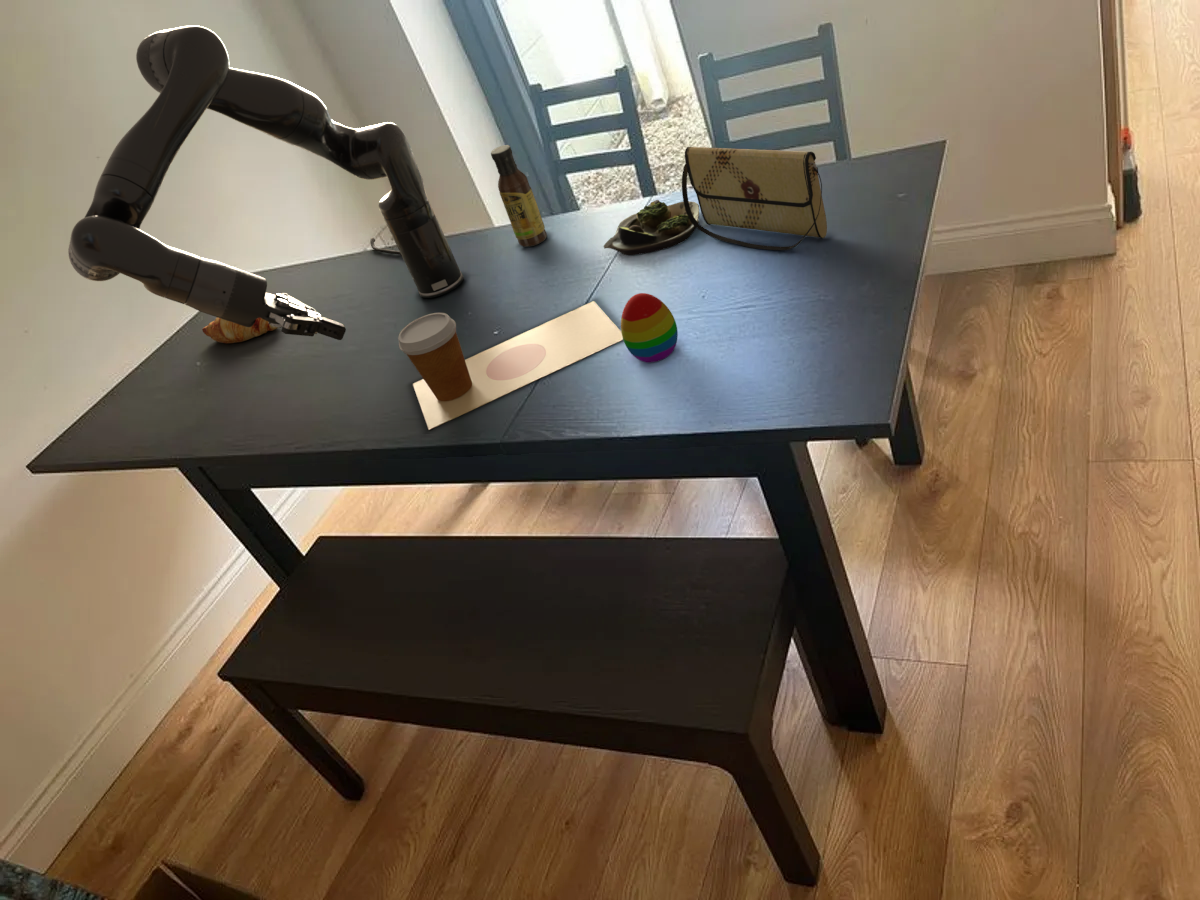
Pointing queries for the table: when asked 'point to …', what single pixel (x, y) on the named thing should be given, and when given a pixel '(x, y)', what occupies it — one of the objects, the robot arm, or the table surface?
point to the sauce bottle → (518, 199)
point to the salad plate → (654, 228)
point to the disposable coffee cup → (437, 355)
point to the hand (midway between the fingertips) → (343, 332)
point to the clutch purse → (756, 192)
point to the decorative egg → (648, 328)
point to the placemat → (524, 361)
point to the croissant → (235, 330)
